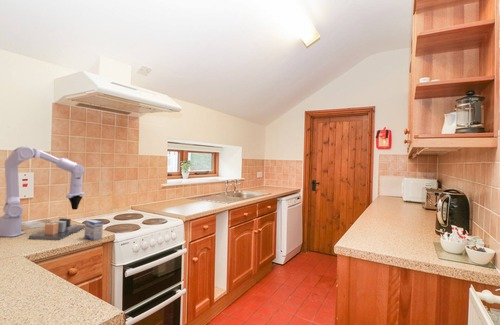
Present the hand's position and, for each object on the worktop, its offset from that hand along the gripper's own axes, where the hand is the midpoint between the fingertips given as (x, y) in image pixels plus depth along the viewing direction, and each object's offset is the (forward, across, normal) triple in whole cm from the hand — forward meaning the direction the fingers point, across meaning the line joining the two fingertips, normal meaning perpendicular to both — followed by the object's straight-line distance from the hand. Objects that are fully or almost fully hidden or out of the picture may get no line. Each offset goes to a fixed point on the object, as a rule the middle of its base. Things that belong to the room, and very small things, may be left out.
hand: (74, 209), depth 156 cm
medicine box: (+11, -19, -20) cm, 30 cm away
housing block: (+9, -19, 0) cm, 21 cm away
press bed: (+10, -12, 0) cm, 16 cm away
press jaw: (+9, -12, 0) cm, 15 cm away
